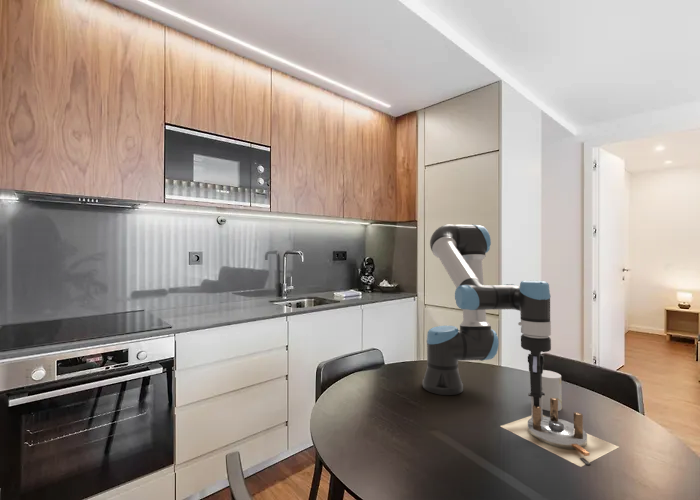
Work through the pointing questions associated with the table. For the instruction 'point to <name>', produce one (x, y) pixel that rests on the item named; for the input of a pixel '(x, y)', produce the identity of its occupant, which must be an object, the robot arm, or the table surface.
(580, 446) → the capstan wheel
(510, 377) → the table surface
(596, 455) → the base board
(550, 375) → the cup
